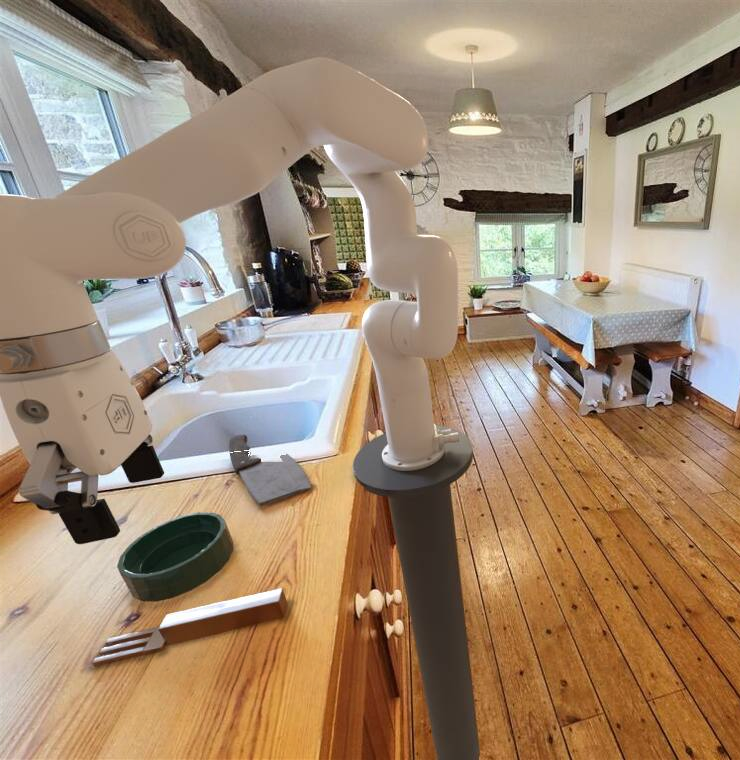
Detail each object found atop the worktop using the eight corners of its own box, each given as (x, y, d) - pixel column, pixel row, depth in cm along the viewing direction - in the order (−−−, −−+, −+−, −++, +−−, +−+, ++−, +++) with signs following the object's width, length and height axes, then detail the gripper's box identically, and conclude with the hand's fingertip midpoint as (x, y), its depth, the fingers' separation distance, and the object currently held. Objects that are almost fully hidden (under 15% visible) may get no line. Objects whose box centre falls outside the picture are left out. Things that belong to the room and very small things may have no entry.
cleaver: (219, 449, 90) (216, 441, 89) (267, 432, 96) (265, 424, 95) (261, 513, 71) (257, 503, 70) (317, 486, 77) (315, 477, 76)
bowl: (245, 529, 67) (236, 505, 65) (217, 592, 56) (205, 564, 54) (159, 546, 64) (147, 521, 62) (112, 615, 53) (95, 587, 51)
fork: (289, 600, 54) (283, 584, 53) (283, 622, 51) (277, 605, 50) (111, 642, 50) (100, 625, 48) (94, 668, 47) (82, 651, 46)
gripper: (34, 376, 29) (127, 557, 36) (146, 321, 44) (197, 455, 51) (-109, 393, 27) (18, 582, 34) (60, 329, 42) (124, 468, 49)
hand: (126, 505), depth 42 cm, fingers open, 9 cm apart
